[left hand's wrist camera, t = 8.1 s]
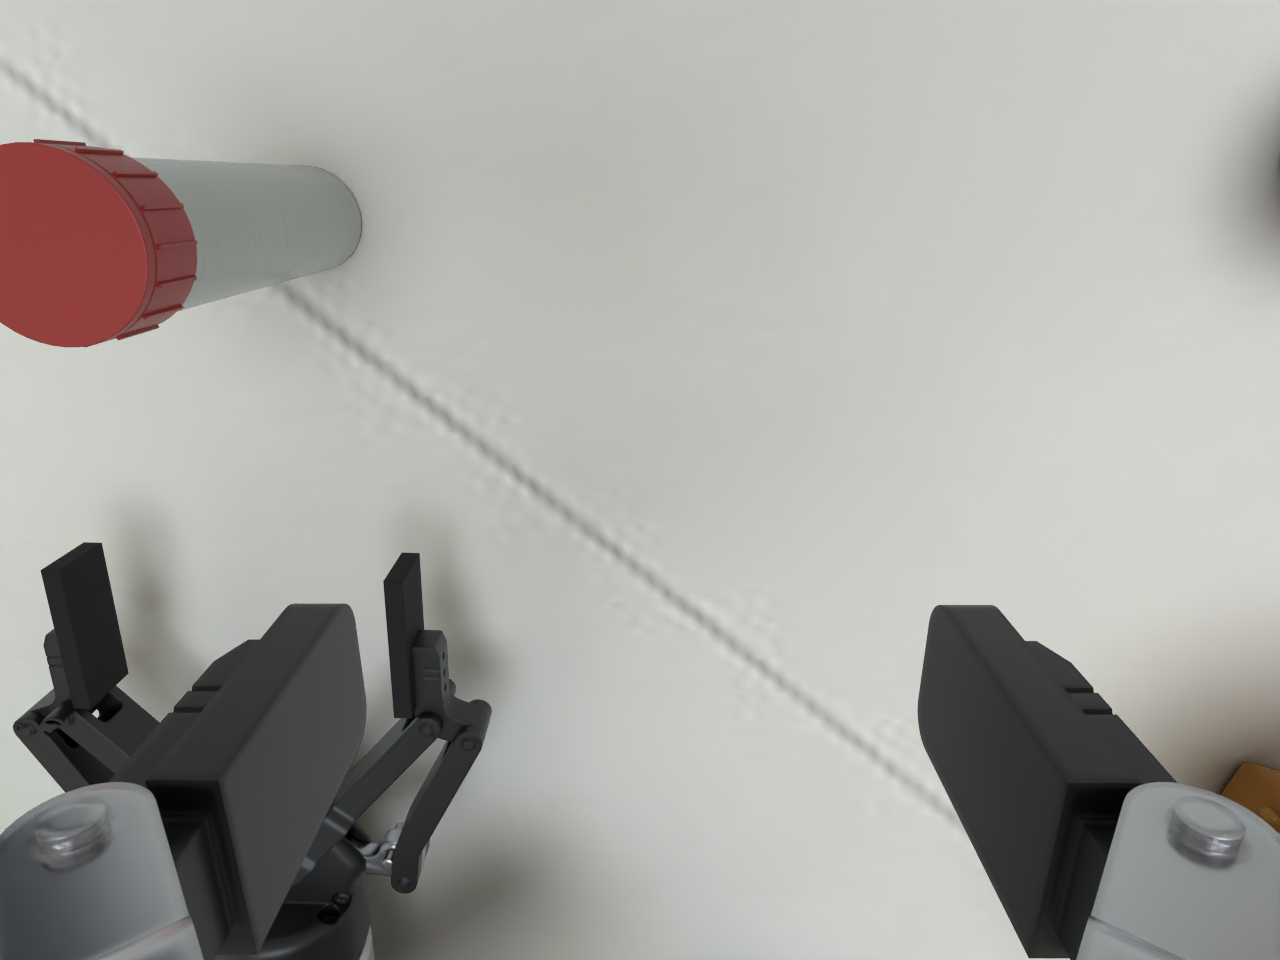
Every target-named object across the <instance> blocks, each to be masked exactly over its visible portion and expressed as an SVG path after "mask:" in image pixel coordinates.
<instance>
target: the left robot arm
mask: <svg viewBox="0 0 1280 960" xmlns="http://www.w3.org/2000/svg"><path fill="white" fill-rule="evenodd" d="M365 722H366V696H365V689H364V681H363V674H362V667H361V660H360V652H359V645H358V638H357V631H356V624H355V618H354V614H353V611H352V609H351V608H350V606H349V605H348V604H291V605H289V606H288V607H287V608H286V609H285V610H284V611H283V612H282V614H281V615H280V616H279V617H278V618H277V620H276V621H275V622H274V623H273V625H272V626H271V627H270V628H269V629H268V631H267V632H266V633H265V634H264V636H263V637H262V638H261V639H260V640H247V641H246V642H244V643H242V644H241V645H239V646H238V647H236V648H234V649H233V650H231V651H230V652H228V653H226V654H225V655H223V656H222V657H220V658H219V659H217V660H215V661H214V662H213V663H212V664H211V665H210V667H209V668H208V669H207V670H206V671H205V672H204V673H203V675H202V676H201V677H200V678H199V679H198V680H197V681H196V683H195V684H194V685H193V686H192V691H188V692H187V693H186V694H185V695H184V696H183V697H182V699H181V700H180V701H179V702H178V703H177V704H176V705H175V707H174V712H173V713H168V715H167V716H166V717H165V718H164V719H163V720H162V721H161V723H160V724H159V725H158V726H157V727H156V728H155V729H154V731H153V732H152V733H151V734H150V735H149V736H148V737H147V739H146V740H145V741H144V742H143V743H142V744H141V745H140V747H139V748H138V749H137V750H136V751H135V752H134V753H133V754H132V756H131V757H130V758H129V759H128V760H127V761H126V762H125V764H124V765H123V766H122V767H121V768H120V769H119V770H118V772H117V773H116V774H115V775H114V776H113V777H112V778H111V780H110V781H109V782H107V783H100V784H94V785H90V786H85V787H81V788H78V789H75V790H72V791H69V792H66V793H64V794H61V795H59V796H56V797H54V798H52V799H50V800H48V801H46V802H44V803H42V804H40V805H38V806H37V807H35V808H33V809H32V810H30V811H28V812H27V813H26V814H24V815H23V816H21V817H20V818H19V819H17V820H16V821H15V822H14V823H12V824H11V825H10V826H9V827H8V828H7V829H6V830H5V831H4V832H3V833H2V834H1V835H0V960H215V958H216V956H217V955H258V953H259V951H260V949H261V947H262V944H263V942H264V940H265V938H266V936H267V934H268V932H269V930H270V928H271V926H272V924H273V922H274V920H275V918H276V916H277V914H278V912H279V910H280V908H281V906H282V904H283V902H284V900H285V898H286V896H287V894H288V891H289V889H290V887H291V885H292V883H293V881H294V879H295V877H296V875H297V873H298V871H299V869H300V867H301V865H302V863H303V861H304V859H305V857H306V855H307V853H308V851H309V849H310V847H311V845H312V843H313V841H314V838H315V836H316V834H317V832H318V830H319V828H320V826H321V824H322V822H323V820H324V818H325V816H326V814H327V812H328V810H329V808H330V806H331V804H332V802H333V800H334V798H335V796H336V794H337V792H338V790H339V788H340V785H341V783H342V781H343V779H344V777H345V775H346V773H347V771H348V769H349V767H350V765H351V763H352V761H353V759H354V757H355V755H356V753H357V751H358V749H359V746H360V744H361V741H362V738H363V734H364V729H365ZM918 722H919V729H920V735H921V739H922V742H923V745H924V748H925V750H926V752H927V754H928V756H929V758H930V760H931V762H932V764H933V766H934V768H935V770H936V772H937V774H938V776H939V778H940V780H941V782H942V784H943V786H944V788H945V790H946V792H947V794H948V796H949V798H950V800H951V802H952V804H953V806H954V808H955V810H956V812H957V814H958V816H959V818H960V820H961V822H962V824H963V826H964V828H965V830H966V832H967V834H968V836H969V838H970V841H971V843H972V845H973V847H974V849H975V851H976V853H977V855H978V857H979V859H980V861H981V863H982V865H983V867H984V869H985V871H986V873H987V875H988V877H989V879H990V881H991V883H992V885H993V887H994V889H995V891H996V893H997V895H998V897H999V899H1000V901H1001V903H1002V905H1003V907H1004V909H1005V911H1006V913H1007V915H1008V917H1009V919H1010V921H1011V923H1012V925H1013V927H1014V929H1015V931H1016V933H1017V935H1018V937H1019V939H1020V941H1021V943H1022V945H1023V947H1024V949H1025V951H1026V953H1027V955H1028V957H1029V958H1070V960H1280V835H1279V834H1278V833H1277V832H1276V831H1275V830H1274V829H1273V828H1272V827H1271V826H1270V825H1269V824H1268V823H1266V822H1265V821H1264V820H1263V819H1261V818H1260V817H1259V816H1257V815H1256V814H1254V813H1253V812H1252V811H1250V810H1248V809H1247V808H1245V807H1243V806H1242V805H1240V804H1238V803H1236V802H1234V801H1232V800H1230V799H1228V798H1226V797H1224V796H1221V795H1219V794H1216V793H1214V792H1211V791H1208V790H1205V789H1202V788H1199V787H1195V786H1190V785H1186V784H1180V783H1177V782H1176V781H1175V780H1174V779H1173V778H1172V776H1171V775H1170V774H1169V773H1168V772H1167V771H1166V770H1165V769H1164V767H1163V766H1162V765H1161V764H1160V763H1159V762H1158V761H1157V759H1156V758H1155V757H1154V756H1153V755H1152V754H1151V753H1150V752H1149V750H1148V749H1147V748H1146V747H1145V746H1144V745H1143V744H1142V742H1141V741H1140V740H1139V739H1138V738H1137V737H1136V736H1135V735H1134V733H1133V732H1132V731H1131V730H1130V729H1129V728H1128V727H1127V726H1126V724H1125V723H1124V722H1123V721H1122V720H1121V719H1120V718H1119V716H1118V715H1113V714H1112V709H1111V707H1110V706H1109V705H1108V704H1107V703H1106V702H1105V701H1104V700H1103V698H1102V697H1101V696H1100V695H1099V694H1098V693H1094V691H1093V687H1092V686H1091V685H1090V684H1089V683H1088V681H1087V680H1086V679H1085V678H1084V677H1083V676H1082V675H1081V673H1080V672H1079V671H1078V670H1077V669H1076V668H1075V667H1074V666H1073V664H1072V663H1071V662H1069V661H1067V660H1066V659H1064V658H1063V657H1061V656H1059V655H1058V654H1056V653H1055V652H1053V651H1051V650H1050V649H1048V648H1047V647H1045V646H1043V645H1042V644H1040V643H1039V642H1037V641H1025V640H1024V639H1023V638H1022V637H1021V636H1020V634H1019V633H1018V632H1017V631H1016V630H1015V628H1014V627H1013V626H1012V625H1011V624H1010V622H1009V621H1008V620H1007V619H1006V617H1005V616H1004V615H1003V614H1002V613H1001V611H1000V610H999V609H998V608H997V607H995V606H993V605H938V606H936V607H935V608H934V610H933V611H932V614H931V617H930V621H929V628H928V635H927V642H926V649H925V656H924V663H923V670H922V677H921V684H920V691H919V699H918Z"/></svg>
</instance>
